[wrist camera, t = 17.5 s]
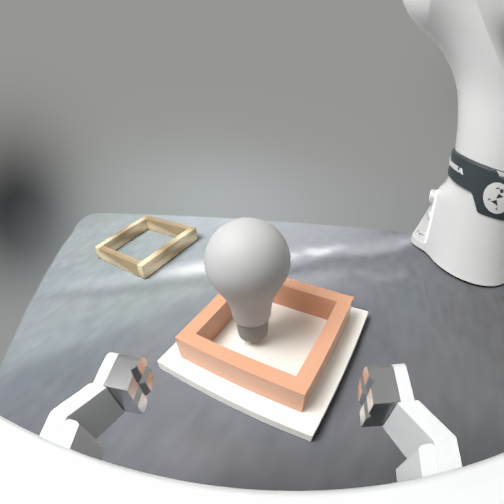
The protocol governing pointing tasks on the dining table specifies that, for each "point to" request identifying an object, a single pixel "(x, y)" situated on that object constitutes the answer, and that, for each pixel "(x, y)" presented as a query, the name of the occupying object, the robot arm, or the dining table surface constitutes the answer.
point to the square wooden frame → (155, 260)
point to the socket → (272, 356)
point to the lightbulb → (248, 271)
